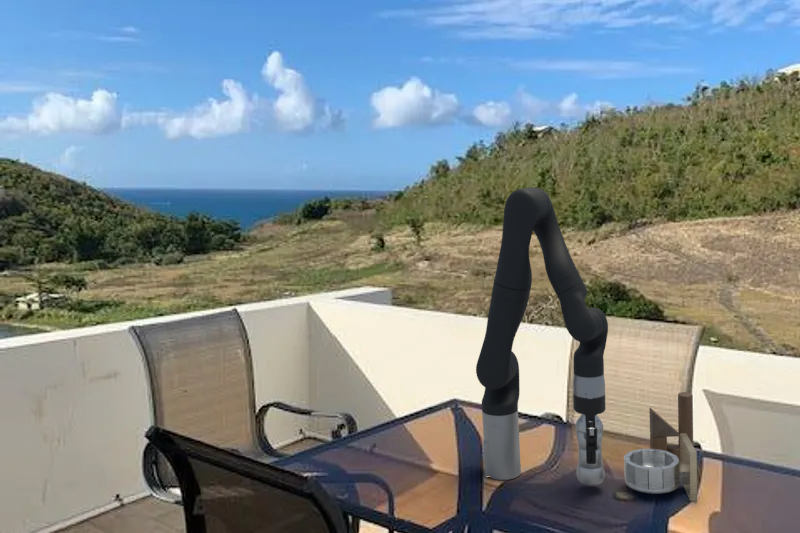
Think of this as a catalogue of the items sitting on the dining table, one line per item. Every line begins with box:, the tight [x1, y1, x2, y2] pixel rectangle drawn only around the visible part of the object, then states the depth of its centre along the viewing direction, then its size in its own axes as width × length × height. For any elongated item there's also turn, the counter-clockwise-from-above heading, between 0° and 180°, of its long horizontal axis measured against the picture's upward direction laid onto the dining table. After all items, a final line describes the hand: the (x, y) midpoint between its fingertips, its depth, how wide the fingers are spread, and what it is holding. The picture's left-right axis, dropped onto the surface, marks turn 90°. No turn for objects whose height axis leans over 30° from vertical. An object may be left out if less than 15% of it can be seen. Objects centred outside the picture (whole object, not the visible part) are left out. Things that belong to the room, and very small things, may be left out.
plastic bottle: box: [574, 414, 606, 486], centre depth 193 cm, size 6×7×20 cm
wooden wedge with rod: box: [649, 391, 694, 463], centre depth 207 cm, size 4×11×18 cm, turn 87°
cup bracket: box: [623, 433, 698, 503], centre depth 191 cm, size 16×12×12 cm
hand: (590, 458), depth 193 cm, fingers closed on plastic bottle, 5 cm apart
